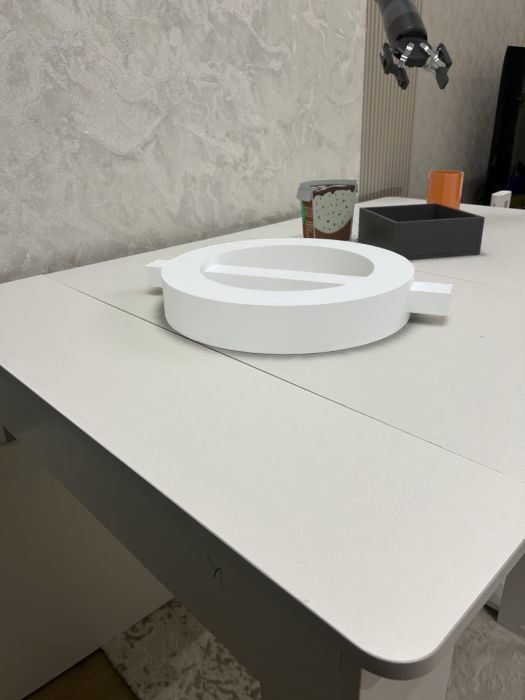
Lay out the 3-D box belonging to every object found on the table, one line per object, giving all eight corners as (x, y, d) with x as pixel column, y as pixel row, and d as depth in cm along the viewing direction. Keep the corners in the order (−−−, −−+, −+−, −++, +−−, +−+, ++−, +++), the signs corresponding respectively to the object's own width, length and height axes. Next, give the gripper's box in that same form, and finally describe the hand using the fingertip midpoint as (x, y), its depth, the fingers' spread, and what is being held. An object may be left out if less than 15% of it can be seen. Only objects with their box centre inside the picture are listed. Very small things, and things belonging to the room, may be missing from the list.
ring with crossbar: (141, 289, 71) (137, 252, 69) (331, 262, 80) (332, 230, 79) (210, 376, 47) (206, 324, 45) (466, 324, 57) (472, 280, 55)
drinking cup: (447, 215, 113) (452, 169, 110) (464, 220, 108) (470, 172, 104) (419, 216, 112) (423, 171, 109) (434, 222, 107) (439, 174, 103)
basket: (434, 235, 96) (437, 202, 94) (479, 254, 83) (485, 217, 81) (357, 240, 93) (359, 207, 91) (392, 261, 81) (395, 222, 78)
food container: (328, 235, 98) (329, 177, 94) (356, 240, 94) (358, 179, 90) (280, 247, 90) (280, 184, 86) (308, 253, 86) (309, 187, 82)
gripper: (378, 10, 110) (400, 71, 105) (442, 11, 113) (466, 70, 108) (366, 42, 117) (385, 101, 112) (426, 43, 120) (448, 100, 115)
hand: (425, 86), depth 110 cm, fingers open, 8 cm apart
